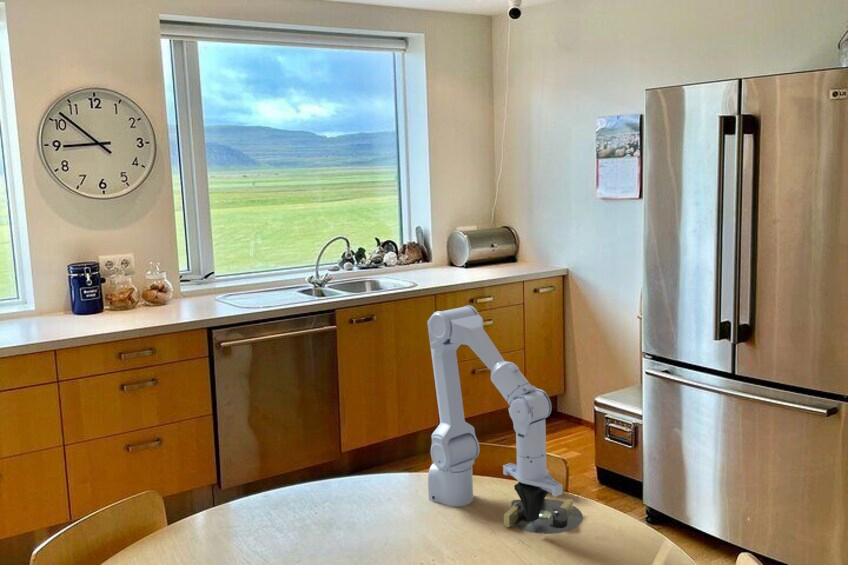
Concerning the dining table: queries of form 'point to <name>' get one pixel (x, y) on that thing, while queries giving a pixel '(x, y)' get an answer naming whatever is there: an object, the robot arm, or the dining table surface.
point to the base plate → (549, 520)
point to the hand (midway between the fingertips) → (532, 518)
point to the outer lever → (562, 513)
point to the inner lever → (514, 513)
